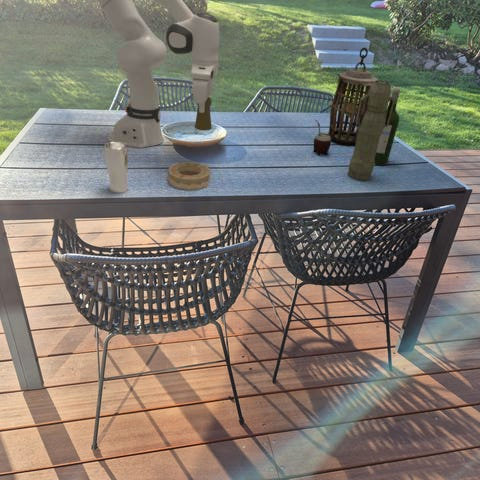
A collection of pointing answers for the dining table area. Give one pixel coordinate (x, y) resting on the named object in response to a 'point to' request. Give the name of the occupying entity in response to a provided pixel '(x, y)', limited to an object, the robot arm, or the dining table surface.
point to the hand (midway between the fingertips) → (203, 109)
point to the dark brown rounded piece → (204, 117)
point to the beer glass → (117, 166)
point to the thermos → (370, 129)
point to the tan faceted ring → (189, 176)
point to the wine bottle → (388, 133)
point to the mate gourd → (321, 142)
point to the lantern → (349, 103)
